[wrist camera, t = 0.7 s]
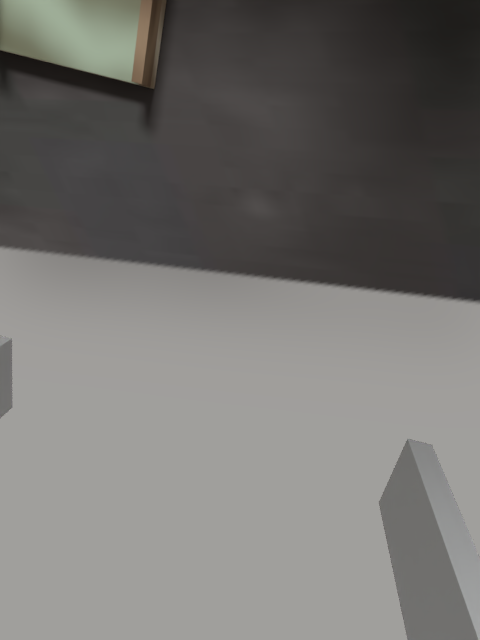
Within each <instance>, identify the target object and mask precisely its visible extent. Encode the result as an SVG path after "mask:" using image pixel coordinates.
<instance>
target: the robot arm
mask: <svg viewBox="0 0 480 640" xmlns="http://www.w3.org/2000/svg"><path fill="white" fill-rule="evenodd" d="M11 408H12V338H7V337H3V336H0V418H1V417H2V416H3V415H4V414H5V413H7V412H8V411H9V410H10V409H11ZM379 505H380V510H381V515H382V520H383V524H384V529H385V534H386V539H387V544H388V549H389V553H390V558H391V563H392V567H393V572H394V577H395V582H396V586H397V591H398V596H399V600H400V606H401V610H402V615H403V620H404V624H405V629H406V634H407V639H408V640H480V557H479V555H478V553H477V550H476V548H475V546H474V543H473V541H472V538H471V536H470V534H469V531H468V529H467V527H466V524H465V522H464V519H463V517H462V515H461V513H460V510H459V508H458V505H457V503H456V501H455V498H454V496H453V493H452V491H451V489H450V486H449V484H448V482H447V480H446V477H445V475H444V472H443V470H442V468H441V465H440V463H439V461H438V458H437V456H436V454H435V451H434V449H433V446H432V445H430V444H426V443H422V442H419V441H415V440H411V439H408V440H407V442H406V444H405V446H404V448H403V450H402V453H401V455H400V457H399V459H398V461H397V464H396V466H395V468H394V470H393V473H392V475H391V477H390V479H389V482H388V484H387V486H386V488H385V491H384V492H383V495H382V497H381V499H380V501H379Z"/></svg>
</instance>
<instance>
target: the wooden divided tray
mask: <svg viewBox="0 0 480 640" xmlns="http://www.w3.org/2000/svg"><path fill="white" fill-rule="evenodd" d="M166 1H167V0H0V50H1V51H5V52H9V53H13V54H16V55H20V56H24V57H28V58H32V59H36V60H40V61H44V62H48V63H52V64H56V65H60V66H64V67H68V68H72V69H76V70H80V71H84V72H88V73H92V74H96V75H100V76H104V77H108V78H112V79H116V80H120V81H124V82H128V83H132V84H136V85H140V86H144V87H148V88H151V89H154V88H155V81H156V74H157V66H158V59H159V52H160V45H161V37H162V30H163V23H164V16H165V8H166Z"/></svg>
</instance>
